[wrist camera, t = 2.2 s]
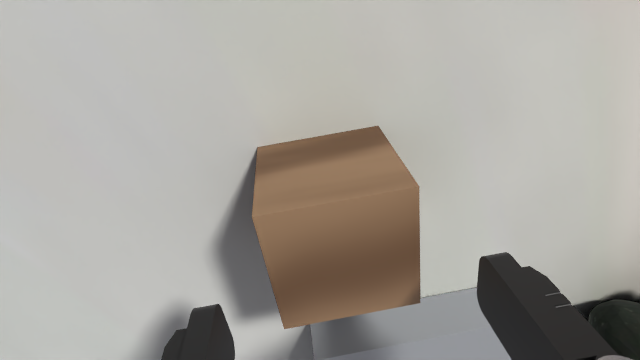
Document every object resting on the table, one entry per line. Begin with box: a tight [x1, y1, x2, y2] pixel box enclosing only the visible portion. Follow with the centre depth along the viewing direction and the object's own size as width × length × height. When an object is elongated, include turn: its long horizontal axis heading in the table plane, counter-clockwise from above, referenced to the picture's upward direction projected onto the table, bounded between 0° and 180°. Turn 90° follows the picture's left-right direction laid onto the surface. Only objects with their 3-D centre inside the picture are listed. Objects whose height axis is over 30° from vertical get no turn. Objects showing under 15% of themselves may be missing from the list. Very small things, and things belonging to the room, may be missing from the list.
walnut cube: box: [252, 126, 420, 329], centre depth 14 cm, size 5×5×5 cm
